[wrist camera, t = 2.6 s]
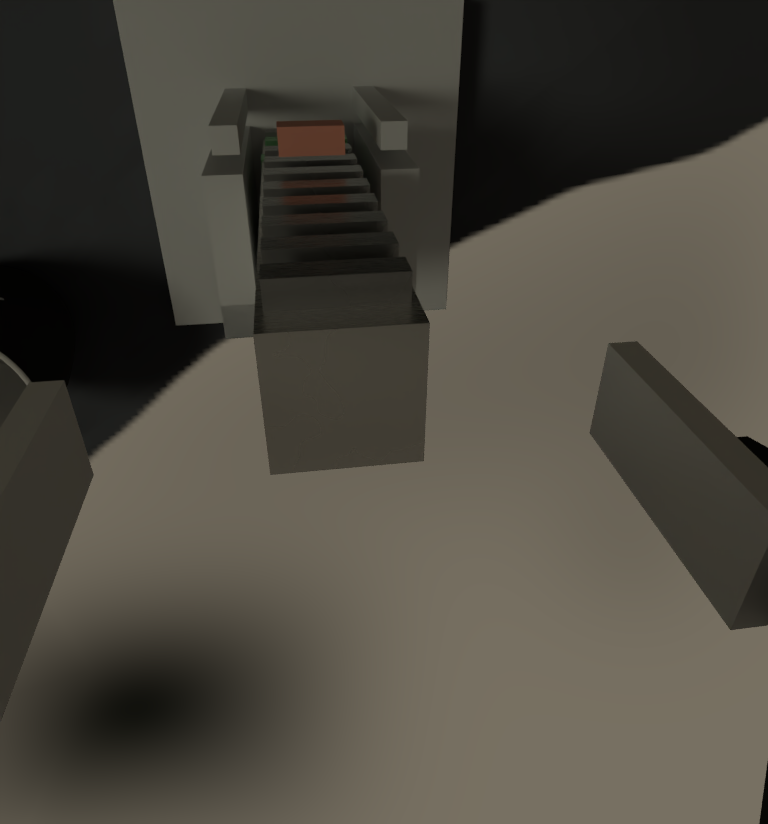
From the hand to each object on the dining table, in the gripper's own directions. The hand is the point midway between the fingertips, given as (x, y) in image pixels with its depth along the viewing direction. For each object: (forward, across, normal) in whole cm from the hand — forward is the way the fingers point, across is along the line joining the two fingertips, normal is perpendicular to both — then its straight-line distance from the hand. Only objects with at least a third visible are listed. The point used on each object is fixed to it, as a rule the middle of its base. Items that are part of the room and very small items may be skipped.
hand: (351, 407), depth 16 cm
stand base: (+24, 0, 0) cm, 24 cm away
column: (+22, 0, +1) cm, 22 cm away
